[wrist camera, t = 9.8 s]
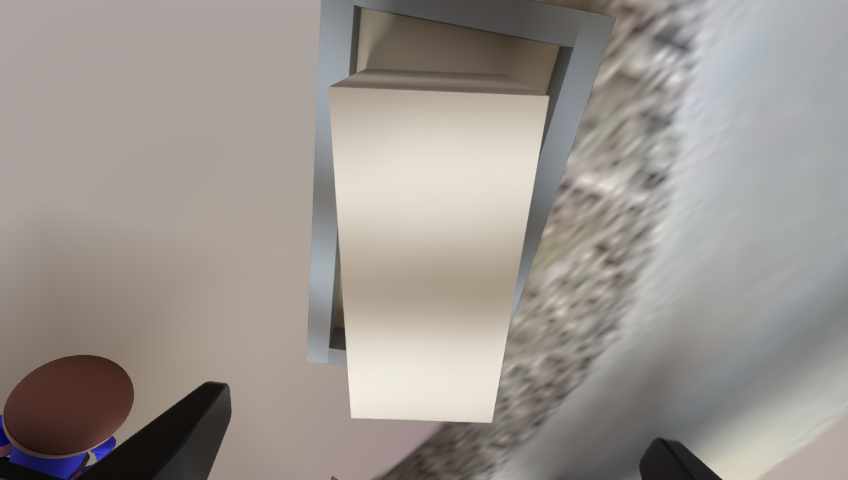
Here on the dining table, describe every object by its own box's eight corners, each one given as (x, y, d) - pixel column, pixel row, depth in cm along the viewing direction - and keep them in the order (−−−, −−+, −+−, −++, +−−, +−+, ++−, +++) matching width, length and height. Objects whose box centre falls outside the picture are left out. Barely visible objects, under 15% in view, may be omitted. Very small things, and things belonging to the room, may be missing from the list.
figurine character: (116, 470, 29) (180, 372, 22) (19, 604, 23) (65, 528, 16) (19, 432, 28) (55, 313, 20) (-116, 568, 21) (-133, 462, 14)
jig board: (483, 349, 22) (490, 384, 19) (319, 326, 21) (306, 361, 19) (587, 20, 14) (616, 17, 12) (339, -29, 14) (322, -42, 11)
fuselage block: (474, 316, 19) (491, 422, 14) (372, 312, 19) (350, 418, 14) (503, 74, 14) (549, 96, 9) (365, 68, 14) (328, 86, 9)
